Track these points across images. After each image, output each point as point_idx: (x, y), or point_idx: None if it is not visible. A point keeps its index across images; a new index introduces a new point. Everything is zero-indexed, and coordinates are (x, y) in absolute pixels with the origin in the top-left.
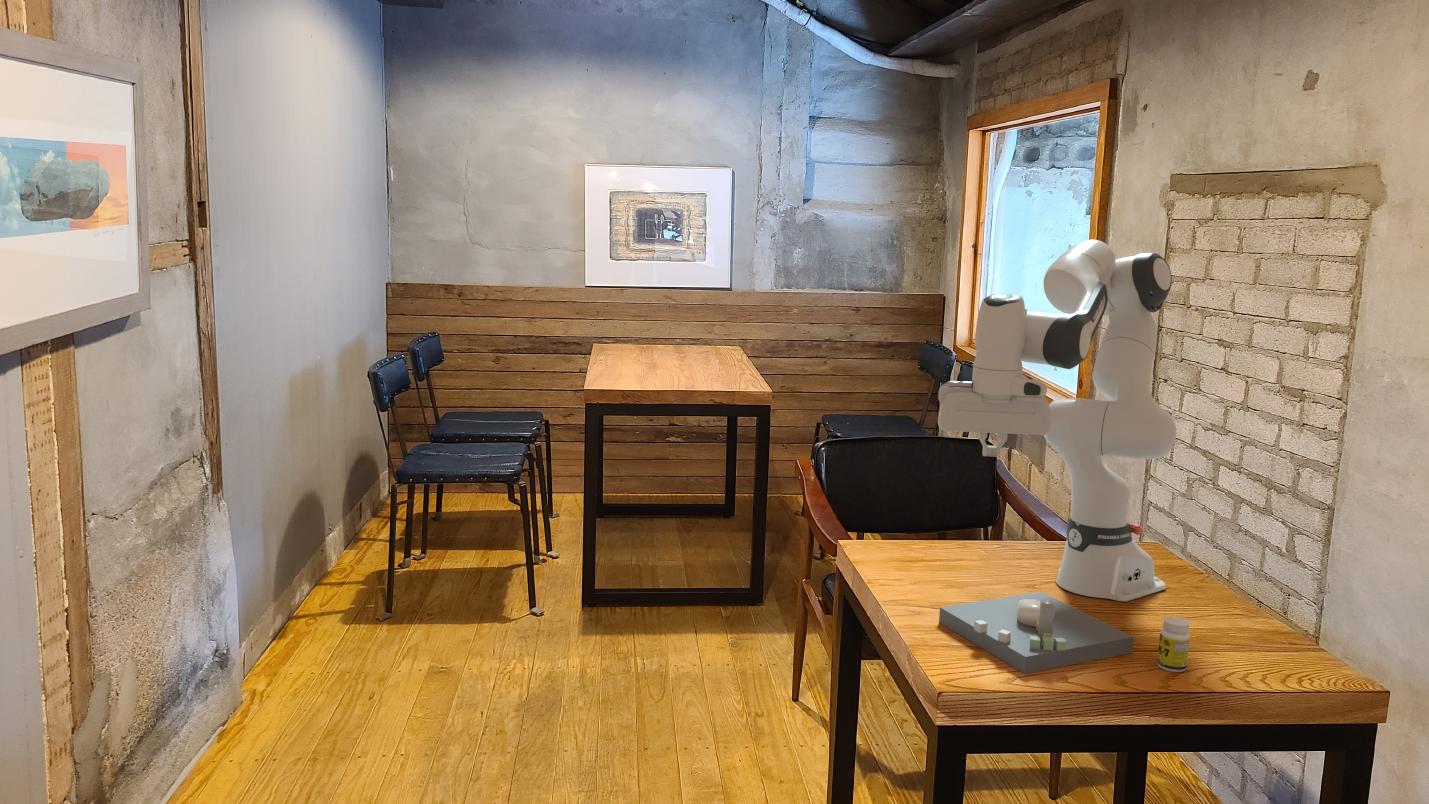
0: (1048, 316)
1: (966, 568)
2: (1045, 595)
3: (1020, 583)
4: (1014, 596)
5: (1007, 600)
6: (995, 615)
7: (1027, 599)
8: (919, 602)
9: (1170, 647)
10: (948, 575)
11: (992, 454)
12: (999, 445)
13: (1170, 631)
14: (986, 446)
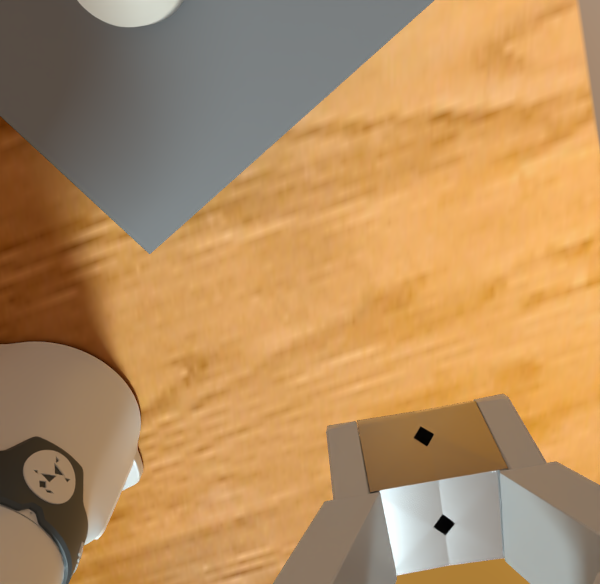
0: None
1: None
2: (133, 226)
3: (223, 377)
4: (219, 185)
5: (236, 141)
6: None
7: (155, 14)
8: (484, 147)
9: None
10: (401, 371)
11: (410, 416)
12: (349, 522)
13: None
14: (525, 472)
